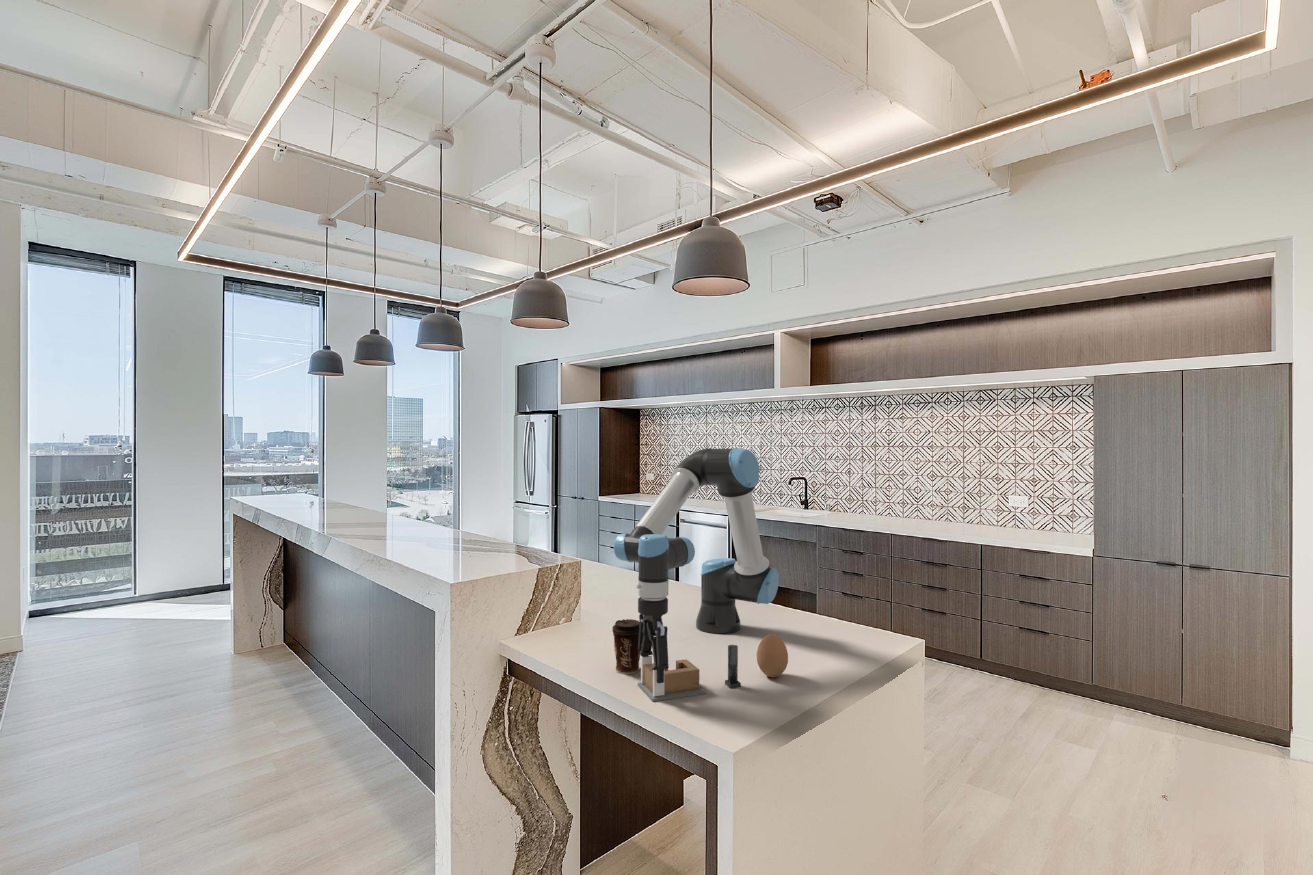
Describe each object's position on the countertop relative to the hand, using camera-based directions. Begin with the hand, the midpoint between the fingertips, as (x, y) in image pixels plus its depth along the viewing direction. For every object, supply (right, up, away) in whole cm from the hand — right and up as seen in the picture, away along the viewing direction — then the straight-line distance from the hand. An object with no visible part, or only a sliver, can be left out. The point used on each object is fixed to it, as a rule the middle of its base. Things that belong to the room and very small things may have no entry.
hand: (652, 688), depth 153 cm
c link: (+5, 0, +2) cm, 5 cm away
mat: (+5, -1, +2) cm, 5 cm away
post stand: (+21, -1, +5) cm, 21 cm away
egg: (+32, -2, +11) cm, 34 cm away
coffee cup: (-7, -1, +16) cm, 17 cm away
